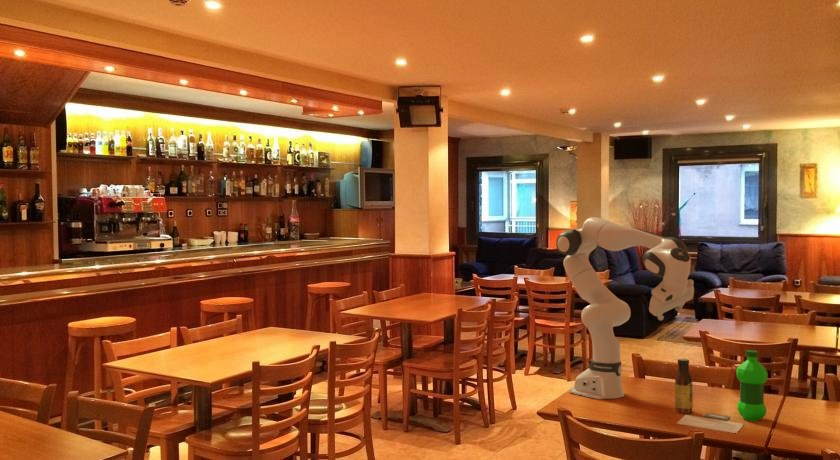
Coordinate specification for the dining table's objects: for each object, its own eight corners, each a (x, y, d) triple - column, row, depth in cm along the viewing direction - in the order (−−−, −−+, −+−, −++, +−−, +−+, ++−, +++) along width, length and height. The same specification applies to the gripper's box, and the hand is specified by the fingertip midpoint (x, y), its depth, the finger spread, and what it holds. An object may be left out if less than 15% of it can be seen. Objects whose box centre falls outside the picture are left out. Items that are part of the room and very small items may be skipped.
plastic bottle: (772, 423, 248) (773, 353, 248) (743, 423, 249) (743, 354, 248) (759, 414, 258) (759, 348, 258) (731, 414, 259) (731, 348, 258)
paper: (676, 423, 249) (676, 422, 249) (685, 415, 258) (685, 414, 258) (736, 433, 237) (736, 432, 237) (743, 424, 247) (743, 423, 247)
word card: (703, 417, 256) (703, 416, 256) (706, 413, 260) (706, 412, 260) (726, 420, 251) (726, 419, 251) (729, 417, 256) (729, 416, 255)
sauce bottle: (694, 414, 260) (694, 361, 259) (676, 413, 261) (676, 361, 260) (690, 409, 266) (690, 358, 266) (673, 408, 267) (673, 357, 267)
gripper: (687, 273, 269) (682, 301, 277) (648, 292, 262) (644, 319, 269) (700, 281, 264) (694, 309, 272) (660, 301, 257) (656, 328, 265)
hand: (669, 314), depth 271 cm, fingers open, 8 cm apart
